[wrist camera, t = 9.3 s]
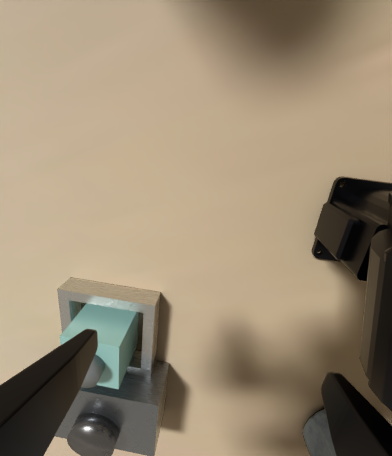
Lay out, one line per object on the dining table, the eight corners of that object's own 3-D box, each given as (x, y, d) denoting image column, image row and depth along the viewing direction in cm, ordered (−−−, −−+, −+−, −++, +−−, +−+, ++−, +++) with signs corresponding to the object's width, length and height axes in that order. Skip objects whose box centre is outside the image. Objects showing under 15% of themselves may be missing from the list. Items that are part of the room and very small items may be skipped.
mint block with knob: (139, 306, 24) (112, 359, 18) (137, 344, 26) (112, 403, 20) (91, 298, 24) (50, 347, 19) (92, 335, 26) (55, 391, 21)
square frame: (175, 294, 23) (160, 344, 18) (164, 410, 29) (150, 474, 24) (55, 274, 24) (5, 316, 18) (69, 392, 30) (34, 449, 24)
